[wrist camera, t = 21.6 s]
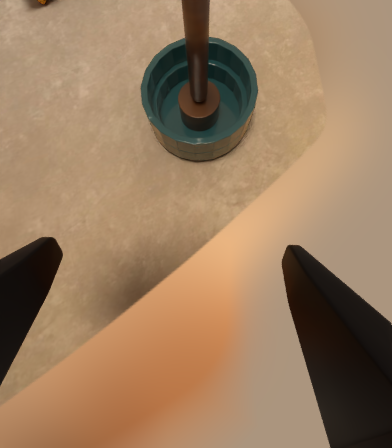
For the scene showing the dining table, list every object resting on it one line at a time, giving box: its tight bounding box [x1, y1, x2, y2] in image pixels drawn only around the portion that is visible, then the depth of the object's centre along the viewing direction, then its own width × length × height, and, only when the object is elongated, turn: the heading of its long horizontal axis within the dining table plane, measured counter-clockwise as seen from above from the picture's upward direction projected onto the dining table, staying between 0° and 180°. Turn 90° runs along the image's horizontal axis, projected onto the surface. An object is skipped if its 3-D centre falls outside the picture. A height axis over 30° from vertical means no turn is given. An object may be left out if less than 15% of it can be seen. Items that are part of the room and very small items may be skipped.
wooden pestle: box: [178, 0, 220, 131], centre depth 15 cm, size 4×4×17 cm
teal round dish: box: [141, 37, 258, 161], centre depth 21 cm, size 10×10×4 cm
